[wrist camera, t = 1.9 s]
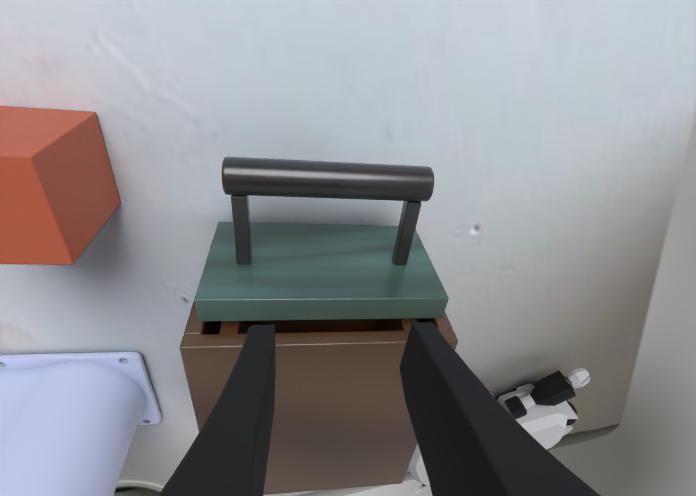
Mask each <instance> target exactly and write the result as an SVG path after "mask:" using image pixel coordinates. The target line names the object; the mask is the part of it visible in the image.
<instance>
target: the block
mask: <svg viewBox="0 0 696 496" xmlns="http://www.w3.org/2000/svg"><path fill="white" fill-rule="evenodd" d="M120 203H121V202H120V198H119V195H118V191H117V187H116V184H115V180H114V176H113V173H112V169H111V166H110V162H109V158H108V155H107V151H106V147H105V144H104V140H103V137H102V133H101V129H100V126H99V122H98V118H97V115H96V112H85V111H70V110H54V109H38V108H23V107H7V106H0V264H43V265H73V264H74V263H75V262H76V260H77V259H78V258H79V256H80V255H81V254H82V253H83V251H84V250H85V249H86V247H87V246H88V245H89V243H90V242H91V241H92V240H93V238H94V237H95V236H96V234H97V233H98V232H99V230H100V229H101V228H102V226H103V225H104V224H105V223H106V221H107V220H108V219H109V217H110V216H111V215H112V213H113V212H114V211H115V210H116V208H117V207H118V206H119V204H120Z"/></svg>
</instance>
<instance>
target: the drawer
mask: <svg viewBox="0 0 696 496" xmlns="http://www.w3.org/2000/svg"><path fill="white" fill-rule="evenodd" d="M222 185H223V190H224V192H225V194H227V195H231V202H232V214H233V222H218V225H217V229H216V232H215V235H214V238H213V242H212V245H211V248H210V251H209V255H208V258H207V261H206V264H205V268H204V271H203V274H202V277H201V281H200V284H199V287H198V290H197V294H196V297H195V305H196V311H197V316H198V321H200V322H202V321H222V322H221V327H220V332H219V334H247V331H248V328H249V327H251V326H252V325H275V333H309V332H361V331H410V328H411V324H412V323H417V320H416V318H442V317H443V314H444V311H445V308H446V305H447V302H448V299H449V298H448V296H447V294H446V292H445V290H444V288H443V286H442V283H441V281H440V279H439V277H438V275H437V273H436V271H435V269H434V267H433V265H432V263H431V261H430V259H429V256H428V254H427V252H426V250H425V248H424V246H423V244H422V242H421V240H420V238H419V236H418V234H417V231H416V229H415V228H416V224H417V219H418V215H419V211H420V207H421V201H425V202H426V201H428V200H429V199H430V198H431V196H432V193H433V188H434V174H433V171H432V169H431V168H430V167H425V166H405V165H385V164H365V163H345V162H325V161H305V160H285V159H265V158H245V157H225V158H224V160H223V164H222ZM248 195H254V196H283V197H311V198H340V199H368V200H397V201H404V204H403V208H402V213H401V218H400V223H399V226H373V225H333V224H292V223H251V222H250V213H249V196H248Z"/></svg>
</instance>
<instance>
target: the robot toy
mask: <svg viewBox="0 0 696 496" xmlns="http://www.w3.org/2000/svg"><path fill="white" fill-rule="evenodd" d="M589 380H590V377H589V373H588V372H587V370H585V369H583V368H578V369H574V370H572V371H571V372H570V373H569V374H568V375H567V376H566V378H565V377H564V376H563V375H562V373H561V372H560V371H557V372H555V373H553V374H551V375H549V376H547V377H545V378H543V379H540V380H539V381H538V382H537V384H536V385H535V386H533V385H532V384H526V385H523V386H519V387H517V388H516V391H513V392H510V393H507V394H504V395H502V396H499V397H498V400H497V401H498V402H499V403H500V404H501V405H502V406H503V407H504V408H505V409H506V410H507V411H508V412H509V413H510V415H511V416H512V417H513V418H514V419H515V420H516V421H517V422H518V423H519V424H520V425H521V426H522V427H523V428H524V429H525V430H526V431H527V432H528V433H529V434H530V435H531V436H532V437H533V438H534V439H536V440H537V441H538V442H539V443H540V444H541V445H542V446H543V447H544V448H545V449H546V450H547V451H548V450H549V449H550V448H551V447H552V446H553V445H555V444H556V443H558V442H559V441H560V439H561V438H562V436H563V435H565V434H567V433H568V432H569V431H571V430H572V429H573V427H572V426H571V424H573V423H574V422H575V421H576V419H578V417H577V411H576V409H575V407H574V406H573V405H572V404H571V403H570V402H569V401H567V400H568V399H571V398H573V397H575V396H576V395H575V392H574V390H573V388H580V387H583V386H584V385H586V384H587V383H589ZM490 393H491V392H490ZM491 394H492V393H491ZM492 395H493V394H492ZM408 468H409V471H410V473H411V475H412V476H413V478H414V479H416V480H417V481H419V482H421V483H422V485H420V486H419V487H418V486H417V487H415V488H414V489H413V490H412V493H411V494H417V493H419V492H420V491H421V490H422V489H424V488H425V487H427V486H430V483H429V479H428V476H427V473H426V469H425V466H424V463H423V459H422V456H421V453H420V449H419V446H418V444H417V446H416V449H415V451H414V454H413V456H412V459H411V462H410V464H409V467H408Z"/></svg>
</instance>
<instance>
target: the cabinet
mask: <svg viewBox="0 0 696 496" xmlns="http://www.w3.org/2000/svg"><path fill="white" fill-rule="evenodd" d="M212 242H213V241H212ZM211 245H212V244H211ZM210 248H211V247H210ZM208 255H209V254H208ZM207 258H208V257H207ZM204 268H205V267H204ZM203 271H204V270H203ZM200 281H201V280H200ZM199 284H200V283H199ZM196 294H197V293H196ZM195 297H196V296H195ZM416 320H417V323H421V322H432V323H433V324H434V325H435V326H436V328H437V329H438V330H439V331H440V333H441V334H442V335H443V336H444V338H445V339H446V340H447V341H448V343H449V344H450V345H451V347H452V348H453V349H454V350H455V348H456V346H457V343H458V340H457V337H456V335H455V333H454V331H453V330H452V326H451V324H450V322H449V320H448V317H447V315H446V313H445V311H444V314H443V317H442V318H416ZM221 322H222V321H202V322H200V321H198V316H197V311H196V305H195V299H194V303H193V306H192V309H191V312H190V316H189V319H188V322H187V325H186V329H185V332H184V336H183V338H182V342H181V345H180V351H181V356H182V360H183V364H184V369H185V373H186V377H187V381H188V386H189V390H190V394H191V399H192V403H193V407H194V411H195V416H196V420H197V424H198V429H199V432H200V431H201V429H202V427H203V425H204V424H205V422H206V420H207V418H208V416H209V415H210V413H211V411H212V409H213V408H214V406H215V404H216V402H217V400H218V398H219V397H220V395H221V393H222V391H223V389H224V386H225V384H226V382H227V380H228V378H229V376H230V374H231V372H232V370H233V368H234V366H235V363H236V361H237V359H238V356H239V354H240V352H241V349H242V346H243V344H244V341H245V338H246V335H247V334H219V332H220V327H221ZM408 335H409V331H361V332H309V333H275V356H276V378H275V406H274V415H273V423H272V431H271V439H270V446H269V454H268V462H267V469H266V477H265V485H264V493H263V495H267V494H279V493H291V492H303V491H315V490H328V489H340V488H352V487H364V486H376V485H388V484H400V483H402V482H403V479H404V477H405V474H406V472H407V469H408V467H409V464H410V462H411V459H412V456H413V454H414V451H415V449H416V446H417V444H418V443H417V439H416V436H415V433H414V429H413V426H412V423H411V419H410V416H409V412H408V409H407V405H406V402H405V397H404V391H403V386H402V380H401V374H400V368H399V367H400V363H401V360H402V356H403V353H404V349H405V346H406V342H407V339H408Z"/></svg>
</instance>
